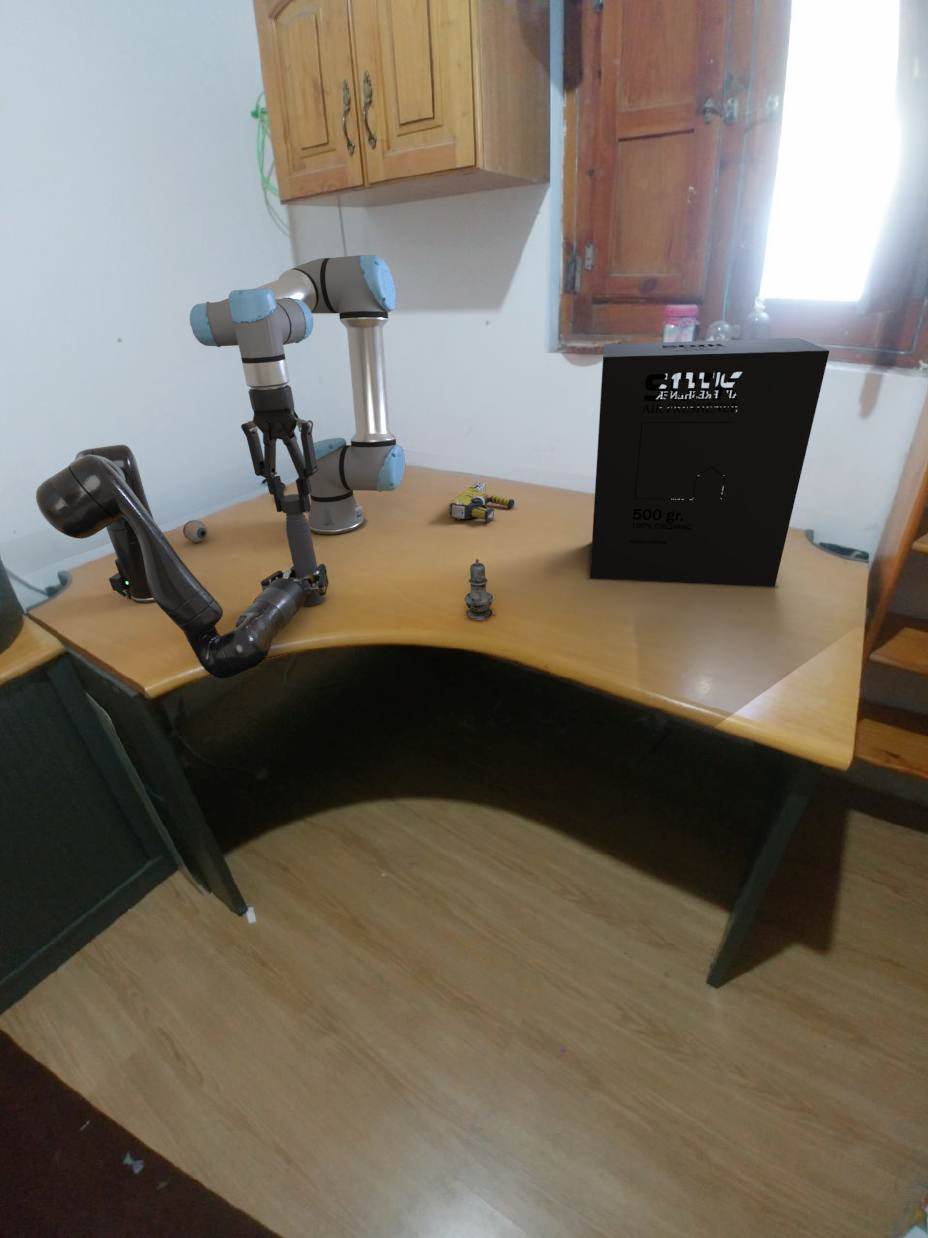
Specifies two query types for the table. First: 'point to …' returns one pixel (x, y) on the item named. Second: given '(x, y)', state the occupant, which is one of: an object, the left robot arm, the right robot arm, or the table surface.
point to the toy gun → (476, 504)
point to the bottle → (302, 550)
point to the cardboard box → (701, 458)
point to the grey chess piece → (478, 594)
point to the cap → (290, 504)
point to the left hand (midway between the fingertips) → (311, 567)
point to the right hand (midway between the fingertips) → (294, 509)
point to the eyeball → (195, 531)
